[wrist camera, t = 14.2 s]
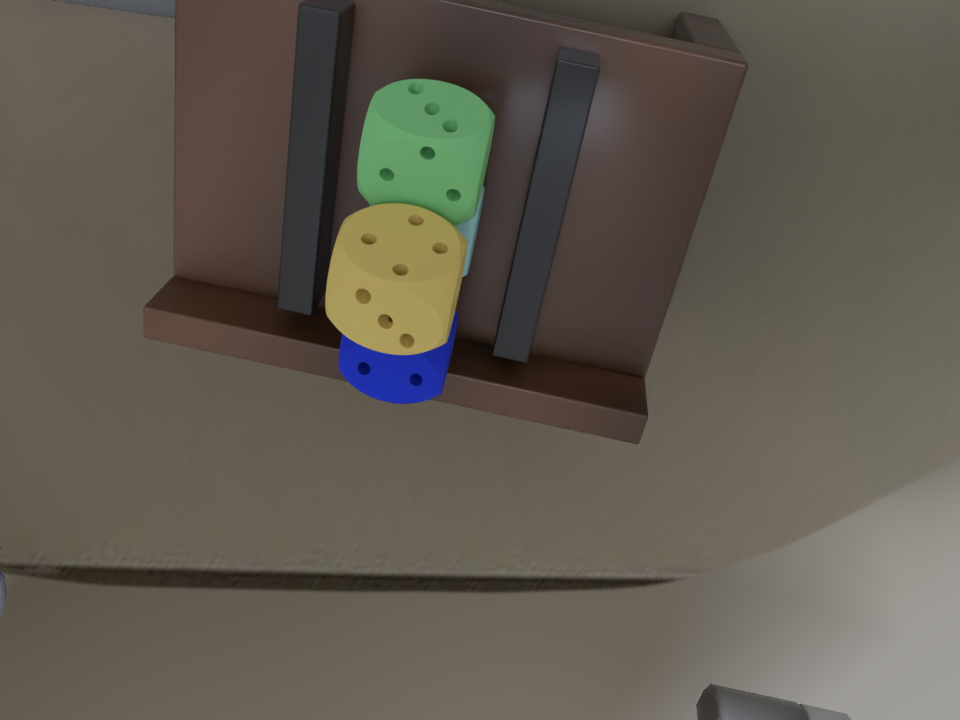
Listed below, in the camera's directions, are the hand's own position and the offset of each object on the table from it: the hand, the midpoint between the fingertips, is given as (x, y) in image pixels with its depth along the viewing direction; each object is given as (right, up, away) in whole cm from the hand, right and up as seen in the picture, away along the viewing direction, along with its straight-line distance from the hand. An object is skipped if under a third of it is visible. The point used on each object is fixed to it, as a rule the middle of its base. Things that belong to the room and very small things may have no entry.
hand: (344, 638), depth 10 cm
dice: (0, +7, +14) cm, 16 cm away
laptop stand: (+1, +10, +19) cm, 22 cm away
